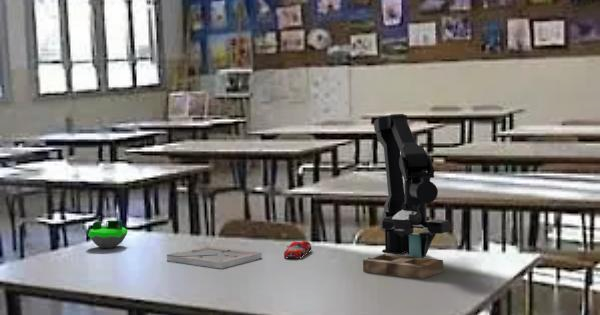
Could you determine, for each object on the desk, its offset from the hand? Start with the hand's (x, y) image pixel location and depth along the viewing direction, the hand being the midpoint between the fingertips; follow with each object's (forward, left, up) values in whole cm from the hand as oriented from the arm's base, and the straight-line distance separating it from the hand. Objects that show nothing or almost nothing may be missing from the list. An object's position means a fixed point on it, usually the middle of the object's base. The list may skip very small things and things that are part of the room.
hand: (416, 256), depth 254 cm
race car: (-36, -6, -2) cm, 37 cm away
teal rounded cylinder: (0, 0, -2) cm, 2 cm away
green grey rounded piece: (-96, -26, -2) cm, 99 cm away
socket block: (+2, -10, -2) cm, 10 cm away
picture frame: (-53, -23, -3) cm, 58 cm away
